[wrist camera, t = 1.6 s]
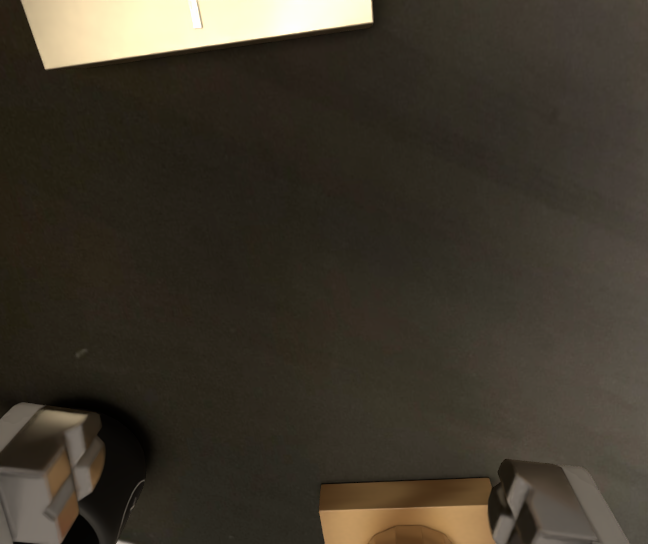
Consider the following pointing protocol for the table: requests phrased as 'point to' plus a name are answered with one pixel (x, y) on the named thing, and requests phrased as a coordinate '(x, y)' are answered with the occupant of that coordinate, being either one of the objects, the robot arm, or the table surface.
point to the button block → (406, 512)
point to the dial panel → (177, 26)
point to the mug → (110, 487)
